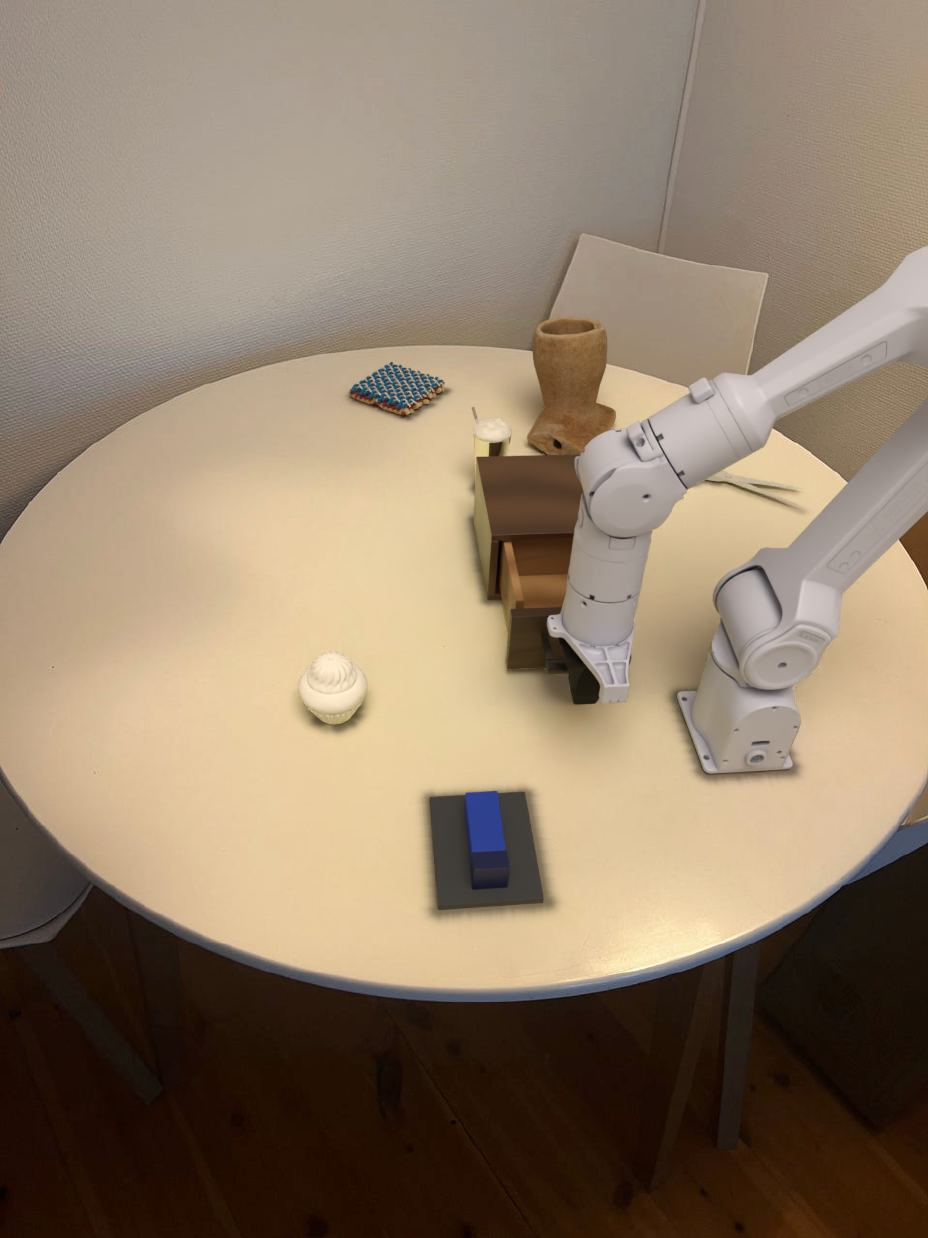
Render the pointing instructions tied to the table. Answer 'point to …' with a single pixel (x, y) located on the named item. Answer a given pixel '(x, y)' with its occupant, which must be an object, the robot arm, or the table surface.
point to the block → (486, 841)
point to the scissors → (744, 483)
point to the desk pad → (456, 861)
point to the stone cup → (570, 384)
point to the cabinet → (522, 505)
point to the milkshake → (491, 437)
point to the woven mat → (397, 389)
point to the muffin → (332, 687)
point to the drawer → (533, 600)
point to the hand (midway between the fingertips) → (583, 698)
